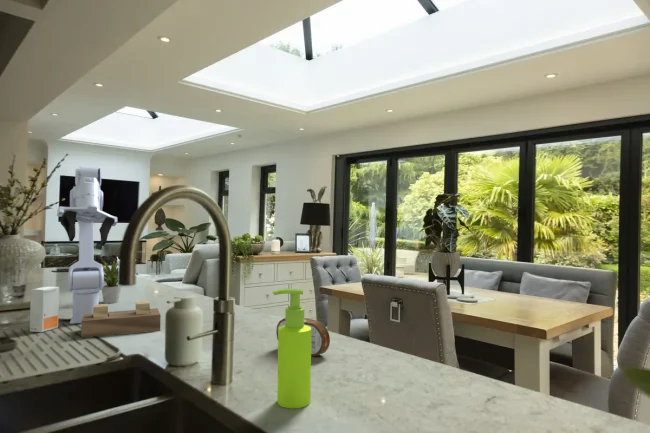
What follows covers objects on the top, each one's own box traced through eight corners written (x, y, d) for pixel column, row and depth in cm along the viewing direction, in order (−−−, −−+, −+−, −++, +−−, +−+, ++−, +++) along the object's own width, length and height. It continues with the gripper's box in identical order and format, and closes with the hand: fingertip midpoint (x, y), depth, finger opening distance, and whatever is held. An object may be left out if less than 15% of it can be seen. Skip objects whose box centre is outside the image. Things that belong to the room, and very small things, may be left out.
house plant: (95, 298, 176) (96, 257, 176) (133, 297, 179) (133, 257, 179) (85, 305, 162) (85, 261, 162) (125, 304, 165) (126, 260, 165)
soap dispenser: (272, 395, 81) (273, 286, 81) (309, 394, 82) (310, 286, 82) (270, 409, 75) (272, 292, 76) (311, 408, 76) (312, 292, 76)
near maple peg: (93, 318, 126) (93, 304, 126) (107, 317, 128) (107, 303, 128) (93, 321, 123) (93, 306, 123) (107, 320, 124) (107, 305, 124)
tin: (330, 357, 105) (330, 321, 105) (322, 360, 102) (323, 324, 102) (282, 346, 113) (282, 313, 113) (274, 348, 111) (274, 315, 111)
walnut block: (83, 329, 128) (83, 313, 128) (157, 322, 136) (157, 308, 136) (81, 337, 119) (81, 321, 119) (160, 330, 127) (160, 314, 127)
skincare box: (42, 332, 123) (42, 289, 124) (29, 331, 124) (29, 289, 124) (59, 327, 129) (59, 286, 130) (46, 326, 130) (47, 286, 130)
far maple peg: (135, 315, 131) (135, 301, 131) (148, 314, 132) (148, 301, 132) (136, 317, 128) (136, 304, 128) (149, 316, 129) (149, 303, 129)
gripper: (64, 186, 116) (62, 227, 108) (120, 198, 125) (122, 237, 118) (55, 202, 119) (53, 243, 112) (111, 213, 129) (112, 251, 121)
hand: (88, 241), depth 115 cm, fingers open, 7 cm apart
